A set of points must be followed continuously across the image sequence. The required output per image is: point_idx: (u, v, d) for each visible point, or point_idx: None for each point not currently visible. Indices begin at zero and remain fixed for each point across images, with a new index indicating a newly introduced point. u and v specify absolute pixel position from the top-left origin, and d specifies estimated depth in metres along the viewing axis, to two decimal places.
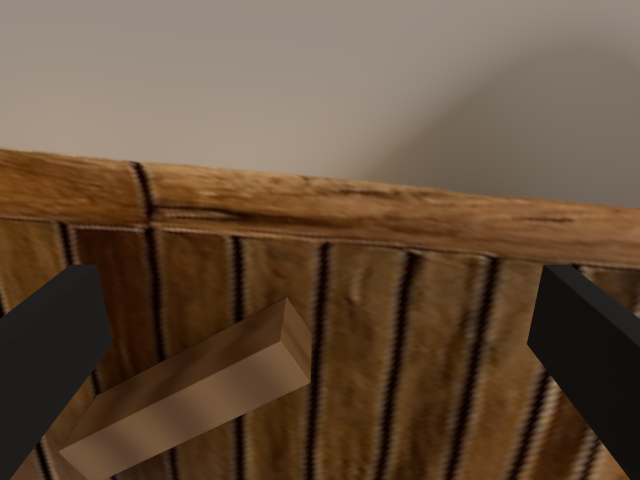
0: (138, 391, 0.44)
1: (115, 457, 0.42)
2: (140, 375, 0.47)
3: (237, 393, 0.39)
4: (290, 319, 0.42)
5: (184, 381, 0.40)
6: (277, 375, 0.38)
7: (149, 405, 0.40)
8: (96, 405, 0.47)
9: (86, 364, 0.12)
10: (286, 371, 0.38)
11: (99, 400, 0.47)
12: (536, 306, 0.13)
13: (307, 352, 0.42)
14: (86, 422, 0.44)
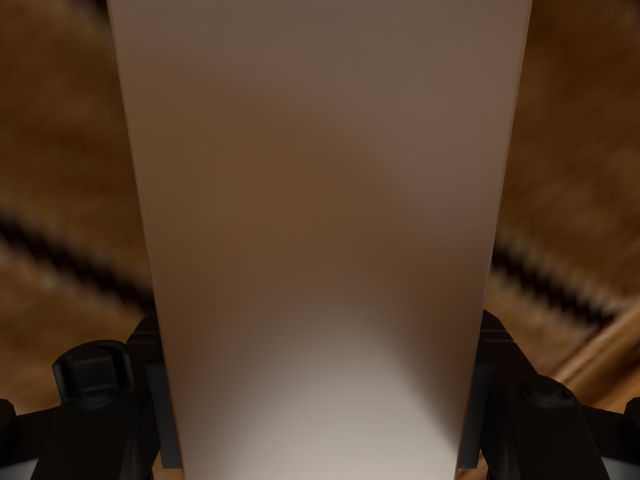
0: None
1: None
2: None
3: (301, 292, 0.07)
4: None
5: None
6: None
7: None
8: None
9: None
10: None
11: None
12: None
13: None
14: None
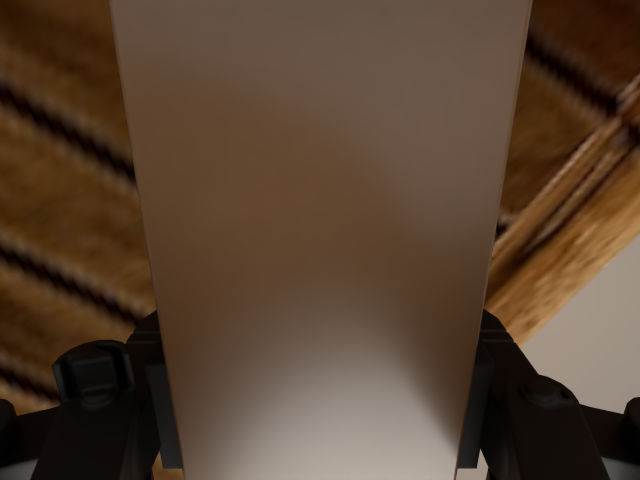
0: None
1: None
2: None
3: (301, 293, 0.07)
4: None
5: None
6: None
7: None
8: None
9: None
10: None
11: None
12: None
13: None
14: None
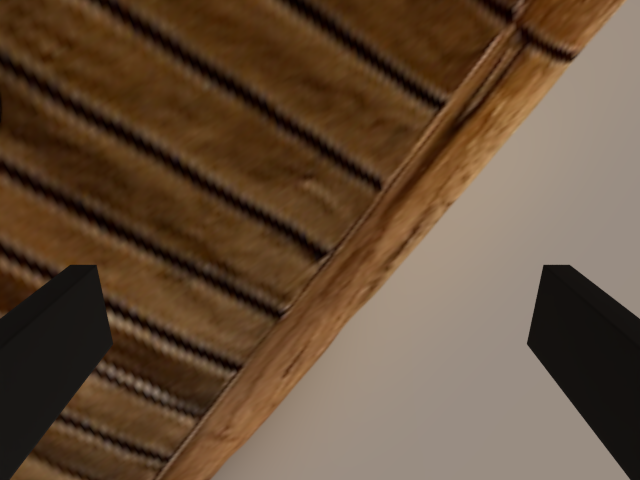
0: None
1: None
2: None
3: None
4: None
5: None
6: None
7: None
8: None
9: (86, 364, 0.12)
10: None
11: None
12: (536, 306, 0.13)
13: None
14: None
